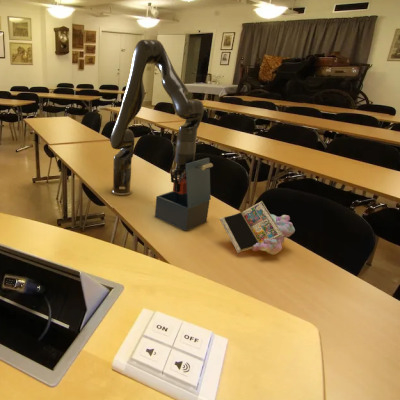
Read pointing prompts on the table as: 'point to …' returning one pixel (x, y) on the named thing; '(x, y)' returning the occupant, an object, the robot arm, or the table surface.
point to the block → (182, 186)
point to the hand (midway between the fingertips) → (181, 190)
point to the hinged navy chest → (180, 211)
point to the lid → (198, 182)
